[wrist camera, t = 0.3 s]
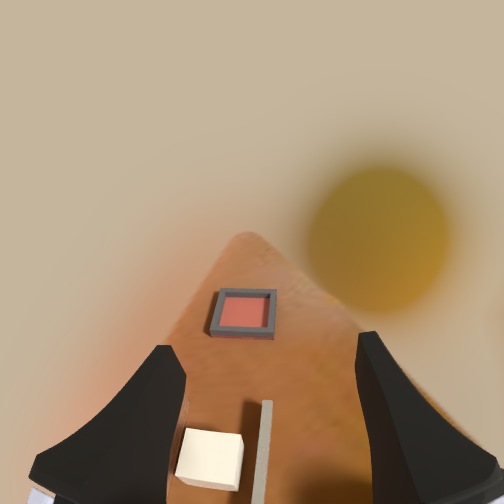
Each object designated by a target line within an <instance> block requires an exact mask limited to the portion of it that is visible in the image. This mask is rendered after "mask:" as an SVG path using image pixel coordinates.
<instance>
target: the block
mask: <svg viewBox="0 0 504 504" xmlns="http://www.w3.org/2000/svg"><path fill="white" fill-rule="evenodd" d="M243 455H244V444H243V440H242V437H241V435H240V434H229V433H220V432H212V431H204V430H197V429H190V428H186V431H185V435H184V440H183V444H182V448H181V452H180V456H179V460H178V465H177V469H176V473H175V476H176V477H178V478H179V479H180V480H182V481H183V482H184V483H186V484H189V485H195V486H200V487H206V488H213V489H220V490H228V491H236V492H238V490H239V483H240V476H241V469H242V462H243Z"/></svg>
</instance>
